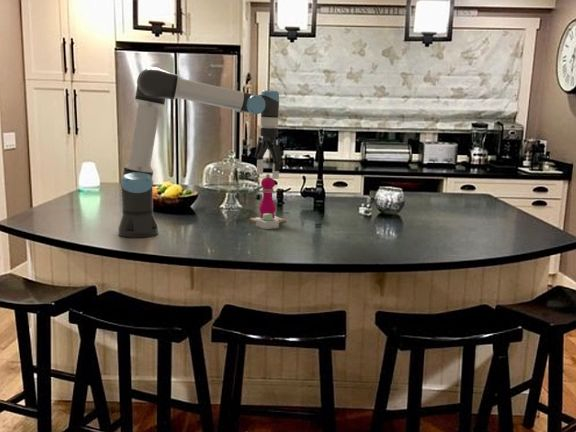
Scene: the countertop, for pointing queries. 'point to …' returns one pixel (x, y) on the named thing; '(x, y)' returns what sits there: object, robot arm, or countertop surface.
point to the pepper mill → (267, 197)
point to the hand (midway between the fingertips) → (267, 176)
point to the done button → (267, 217)
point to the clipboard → (274, 218)
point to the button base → (267, 223)
